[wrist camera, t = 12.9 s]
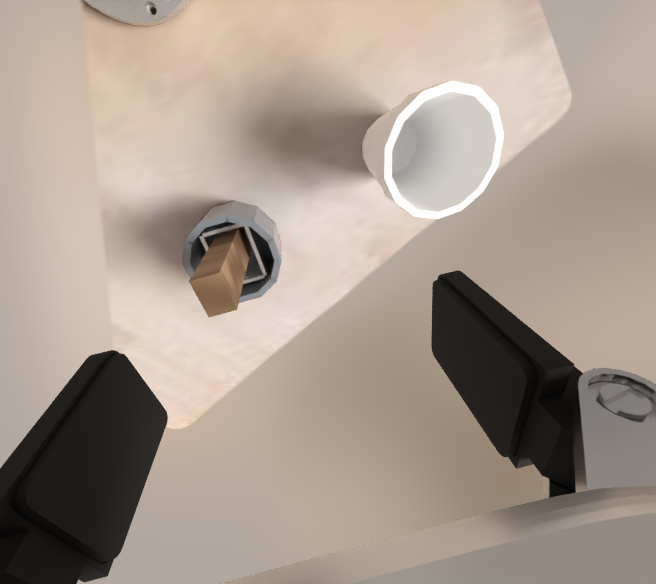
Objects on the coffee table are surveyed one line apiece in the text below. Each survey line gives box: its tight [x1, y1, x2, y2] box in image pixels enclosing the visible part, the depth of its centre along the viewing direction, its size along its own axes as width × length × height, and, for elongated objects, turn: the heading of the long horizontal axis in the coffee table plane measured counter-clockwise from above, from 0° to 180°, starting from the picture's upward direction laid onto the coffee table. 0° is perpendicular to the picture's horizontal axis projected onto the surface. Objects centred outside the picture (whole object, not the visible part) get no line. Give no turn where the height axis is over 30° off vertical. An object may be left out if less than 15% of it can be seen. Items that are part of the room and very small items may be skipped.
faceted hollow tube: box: [183, 201, 281, 303], centre depth 34 cm, size 10×10×6 cm
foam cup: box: [362, 81, 504, 219], centre depth 28 cm, size 10×9×13 cm
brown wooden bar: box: [189, 227, 251, 317], centre depth 29 cm, size 4×2×14 cm
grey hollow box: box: [199, 222, 268, 284], centre depth 34 cm, size 7×5×4 cm
